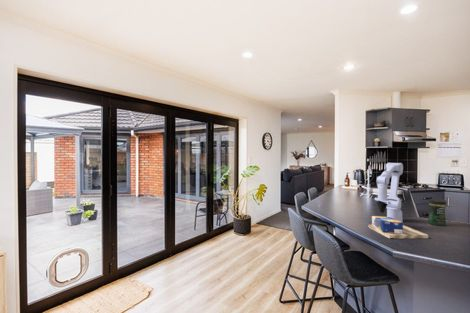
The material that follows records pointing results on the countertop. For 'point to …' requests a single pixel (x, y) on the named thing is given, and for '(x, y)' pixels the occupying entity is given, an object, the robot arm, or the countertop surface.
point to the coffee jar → (437, 212)
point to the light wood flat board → (407, 233)
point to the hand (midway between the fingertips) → (382, 212)
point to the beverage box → (387, 224)
